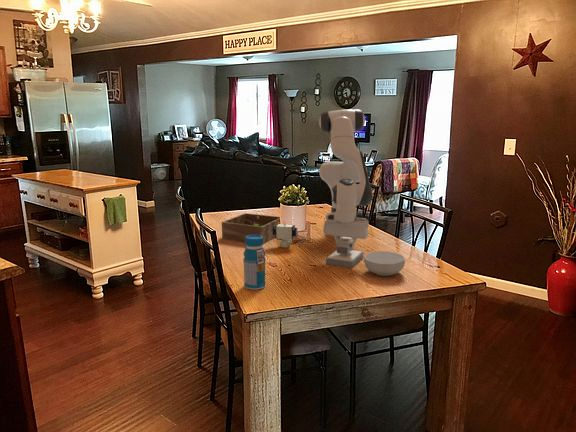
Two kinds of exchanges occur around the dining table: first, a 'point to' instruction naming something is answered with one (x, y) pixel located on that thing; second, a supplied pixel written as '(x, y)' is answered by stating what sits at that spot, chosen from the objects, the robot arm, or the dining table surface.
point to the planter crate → (249, 227)
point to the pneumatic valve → (285, 233)
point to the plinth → (344, 258)
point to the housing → (344, 245)
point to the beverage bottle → (254, 263)
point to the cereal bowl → (384, 262)
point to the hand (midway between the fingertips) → (345, 246)
